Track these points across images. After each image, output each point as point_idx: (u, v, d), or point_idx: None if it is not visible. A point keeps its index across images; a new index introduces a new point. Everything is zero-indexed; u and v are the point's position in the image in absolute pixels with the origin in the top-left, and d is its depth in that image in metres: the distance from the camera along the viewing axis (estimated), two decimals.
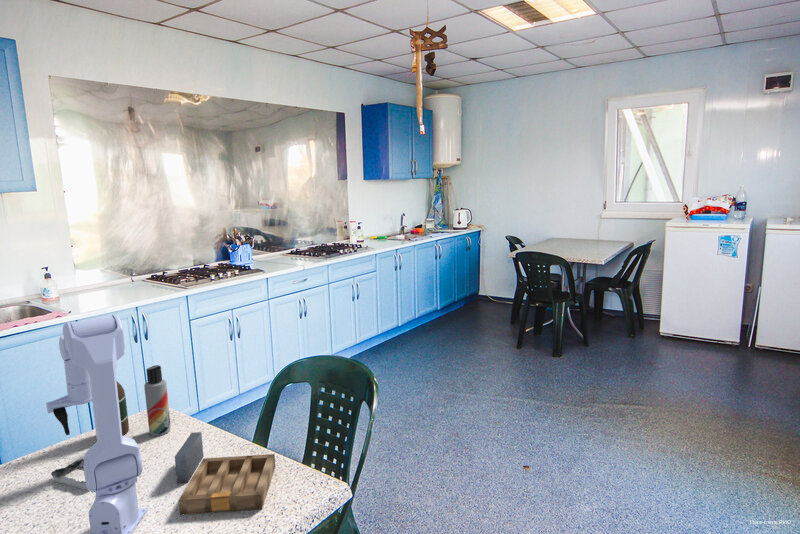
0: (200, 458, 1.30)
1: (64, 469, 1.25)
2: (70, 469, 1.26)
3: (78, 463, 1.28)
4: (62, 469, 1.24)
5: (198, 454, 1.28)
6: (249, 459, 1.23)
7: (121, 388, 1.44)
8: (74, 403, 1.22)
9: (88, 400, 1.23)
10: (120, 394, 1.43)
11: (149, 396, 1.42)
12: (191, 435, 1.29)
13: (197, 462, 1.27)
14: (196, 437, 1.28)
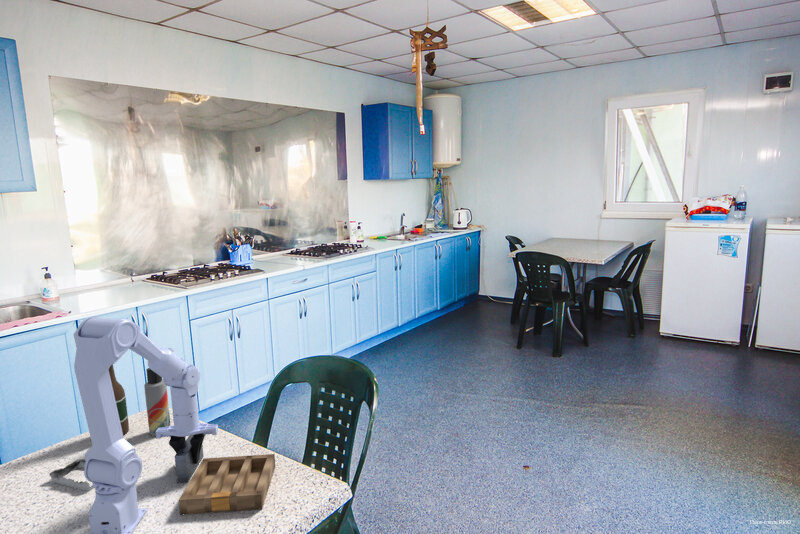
0: (200, 457, 1.30)
1: (62, 470, 1.24)
2: (68, 469, 1.26)
3: (76, 463, 1.27)
4: (60, 470, 1.24)
5: None
6: (249, 459, 1.23)
7: (121, 388, 1.44)
8: (175, 434, 1.22)
9: (186, 433, 1.21)
10: (120, 394, 1.43)
11: (149, 396, 1.42)
12: (191, 435, 1.29)
13: None
14: None
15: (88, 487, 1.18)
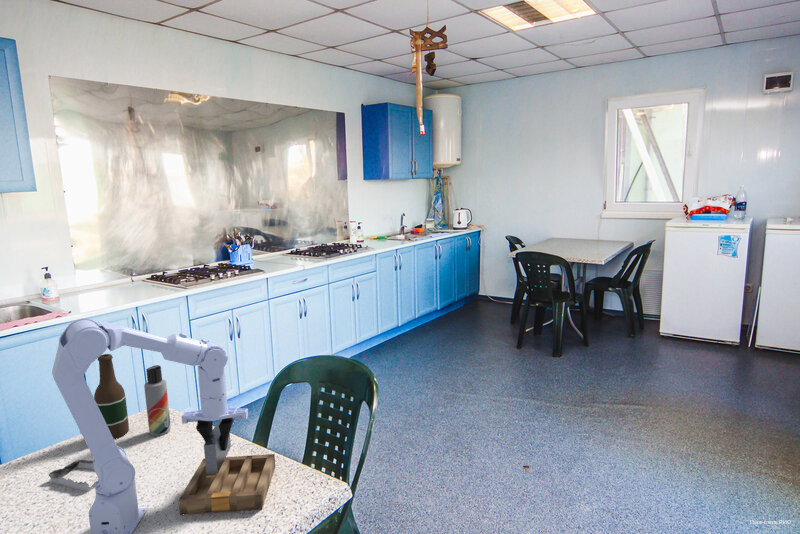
0: (228, 447, 1.22)
1: (62, 470, 1.24)
2: (68, 470, 1.25)
3: (76, 464, 1.27)
4: (60, 470, 1.24)
5: None
6: (249, 459, 1.23)
7: (121, 388, 1.44)
8: (202, 418, 1.14)
9: (214, 417, 1.14)
10: (120, 394, 1.43)
11: (149, 396, 1.42)
12: (218, 423, 1.22)
13: (225, 452, 1.20)
14: None
15: (87, 487, 1.17)
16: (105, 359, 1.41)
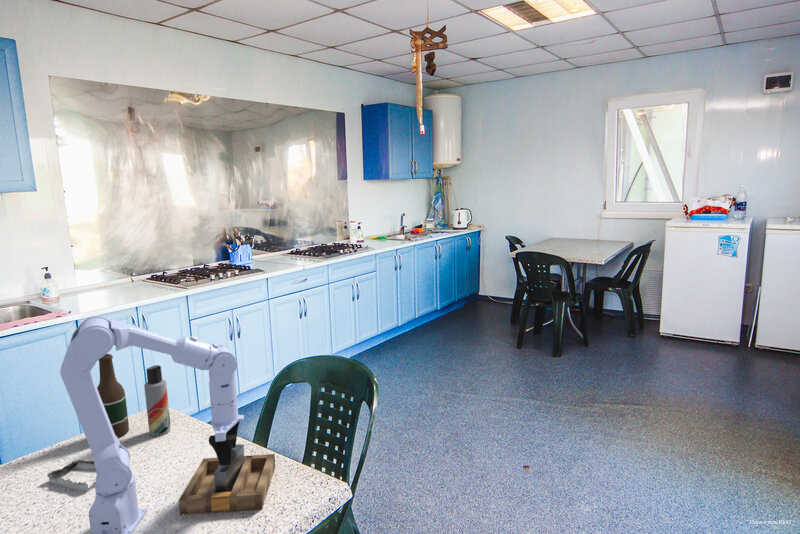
0: None
1: (60, 471, 1.24)
2: (66, 470, 1.25)
3: (74, 464, 1.27)
4: (58, 471, 1.23)
5: (239, 469, 1.19)
6: (249, 459, 1.23)
7: (121, 388, 1.44)
8: None
9: (211, 421, 1.13)
10: (120, 394, 1.43)
11: (149, 396, 1.42)
12: None
13: None
14: (238, 450, 1.19)
15: (86, 488, 1.17)
16: (105, 359, 1.41)
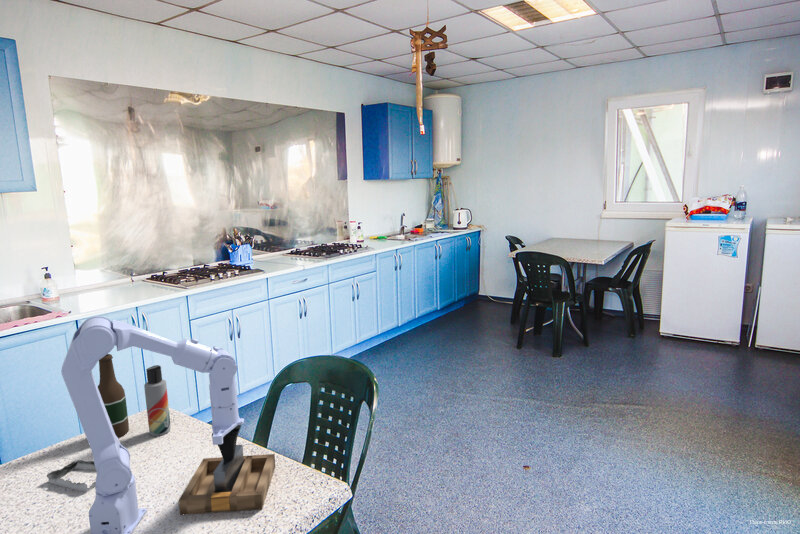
0: None
1: (60, 471, 1.24)
2: (66, 470, 1.25)
3: (74, 465, 1.27)
4: (58, 471, 1.23)
5: (239, 469, 1.19)
6: (249, 459, 1.23)
7: (121, 388, 1.44)
8: None
9: None
10: (120, 394, 1.43)
11: (149, 396, 1.42)
12: None
13: None
14: (237, 450, 1.19)
15: (86, 488, 1.17)
16: (105, 359, 1.41)
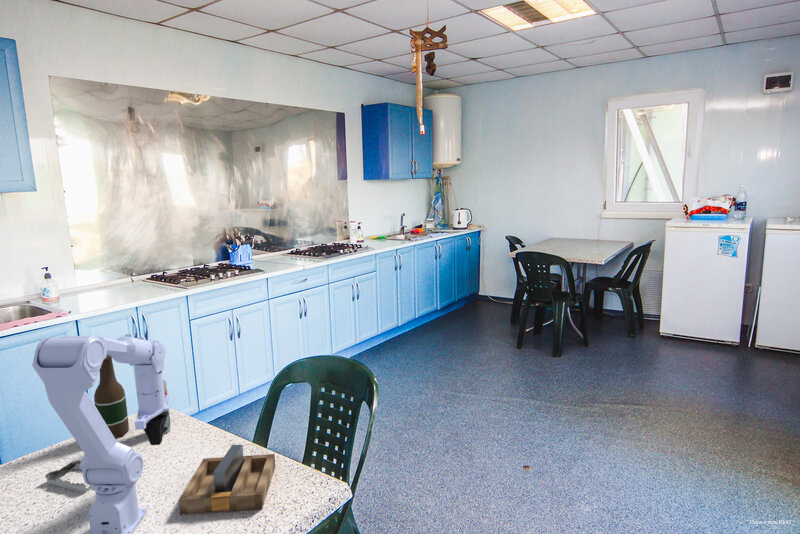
0: None
1: (58, 471, 1.24)
2: (64, 471, 1.25)
3: (72, 465, 1.27)
4: (56, 471, 1.23)
5: (238, 469, 1.19)
6: (249, 459, 1.23)
7: (121, 388, 1.44)
8: None
9: (138, 409, 1.18)
10: (120, 394, 1.43)
11: None
12: (232, 448, 1.20)
13: None
14: (237, 450, 1.19)
15: (84, 489, 1.17)
16: (105, 359, 1.41)
